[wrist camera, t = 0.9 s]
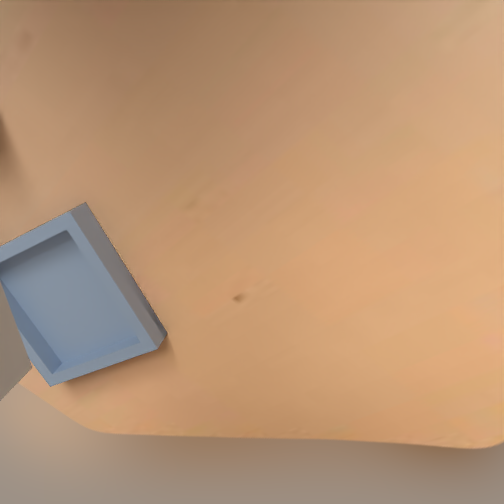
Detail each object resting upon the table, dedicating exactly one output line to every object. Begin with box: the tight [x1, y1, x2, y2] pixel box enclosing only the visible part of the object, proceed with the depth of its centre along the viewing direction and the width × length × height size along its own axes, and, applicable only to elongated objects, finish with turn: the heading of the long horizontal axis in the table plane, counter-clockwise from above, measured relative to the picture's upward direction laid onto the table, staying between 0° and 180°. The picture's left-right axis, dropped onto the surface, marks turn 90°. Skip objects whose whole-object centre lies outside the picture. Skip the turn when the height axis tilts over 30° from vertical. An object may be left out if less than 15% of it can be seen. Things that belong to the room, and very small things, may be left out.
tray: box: [0, 202, 167, 387], centre depth 41 cm, size 14×13×3 cm
